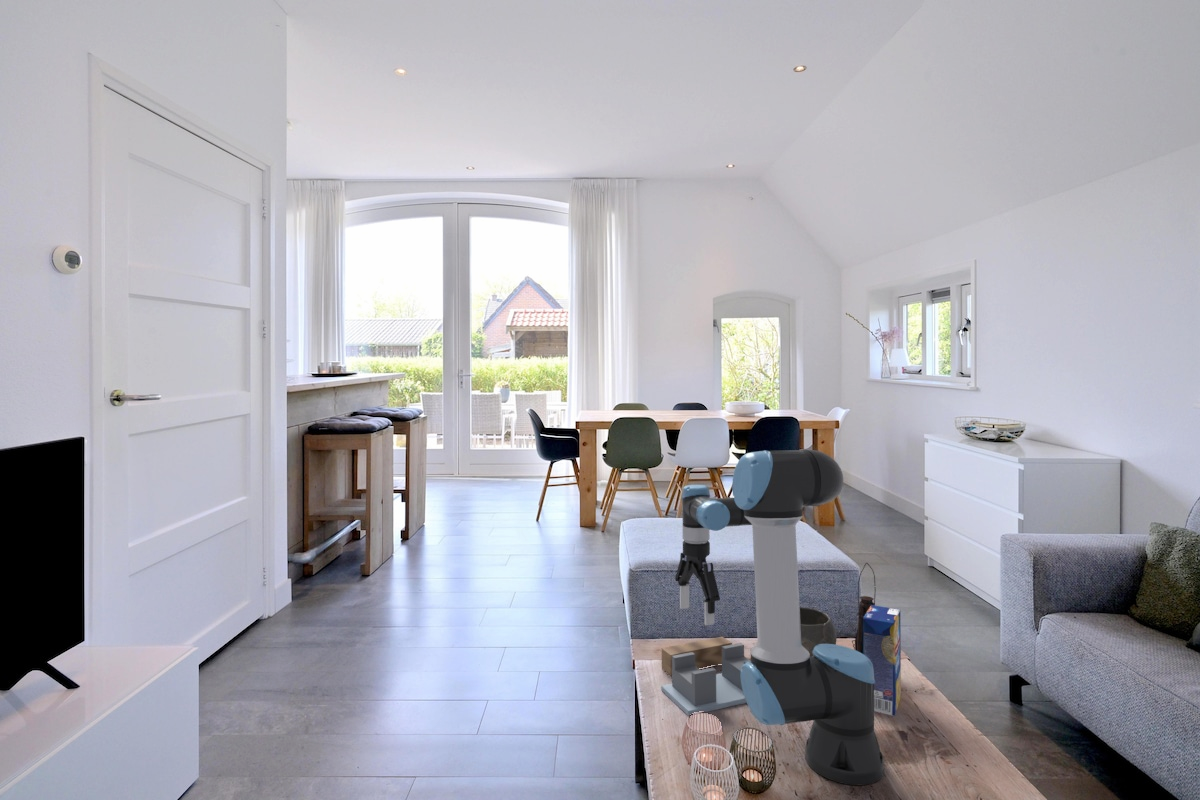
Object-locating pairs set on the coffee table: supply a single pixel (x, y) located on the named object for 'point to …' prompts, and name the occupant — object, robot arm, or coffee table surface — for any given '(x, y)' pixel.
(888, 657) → the beverage box
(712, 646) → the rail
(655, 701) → the coffee table surface
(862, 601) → the lantern
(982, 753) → the coffee table surface
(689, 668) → the bracket
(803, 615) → the bowl
